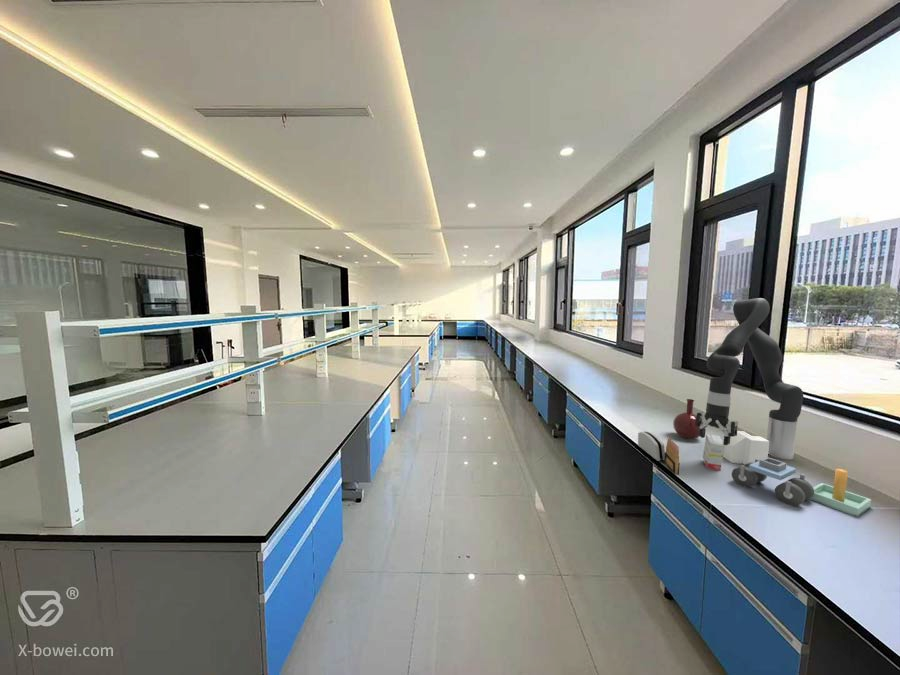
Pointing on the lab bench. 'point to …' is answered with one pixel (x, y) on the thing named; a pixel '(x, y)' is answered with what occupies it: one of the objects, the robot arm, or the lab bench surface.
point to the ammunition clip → (672, 457)
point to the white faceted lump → (746, 448)
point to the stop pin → (840, 485)
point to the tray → (851, 503)
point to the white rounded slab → (651, 445)
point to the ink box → (713, 452)
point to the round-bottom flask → (687, 423)
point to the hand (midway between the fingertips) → (713, 441)
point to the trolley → (786, 492)
